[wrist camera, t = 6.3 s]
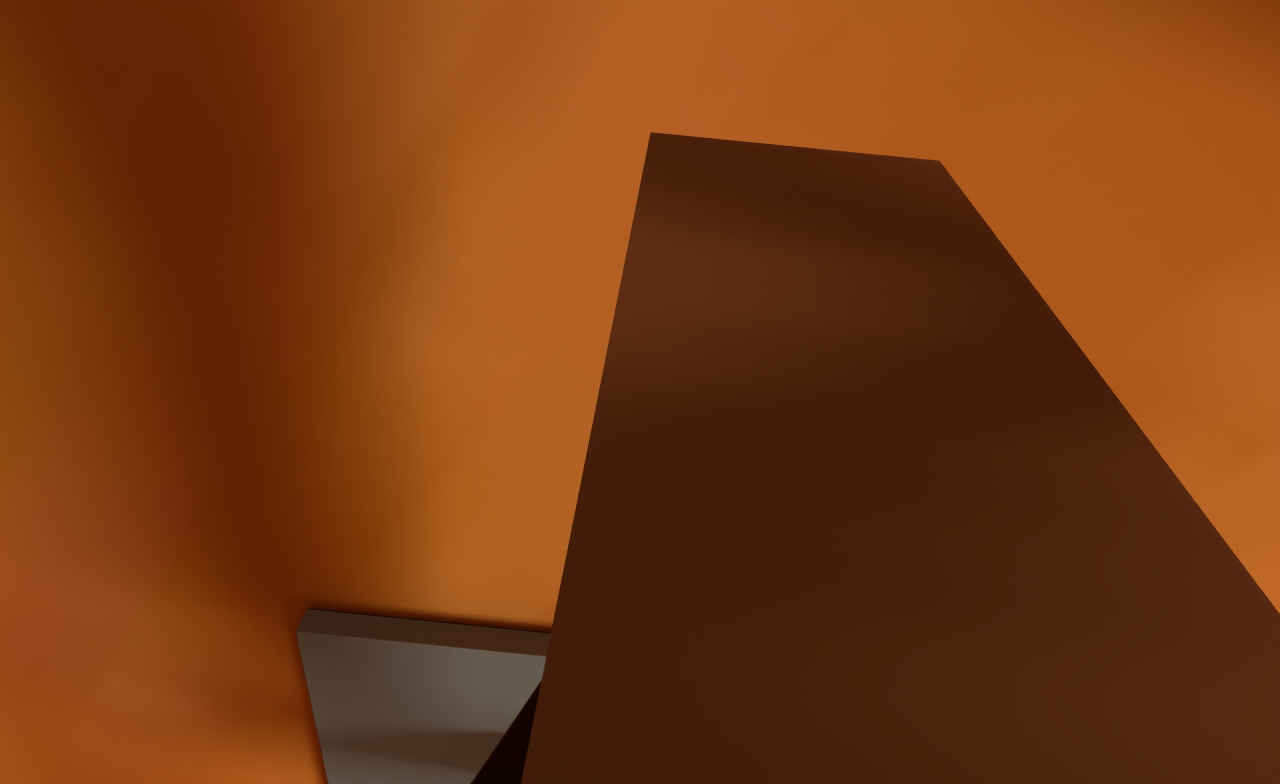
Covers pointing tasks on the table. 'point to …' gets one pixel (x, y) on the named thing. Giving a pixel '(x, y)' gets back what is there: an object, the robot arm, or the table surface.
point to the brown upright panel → (877, 514)
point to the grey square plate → (413, 694)
